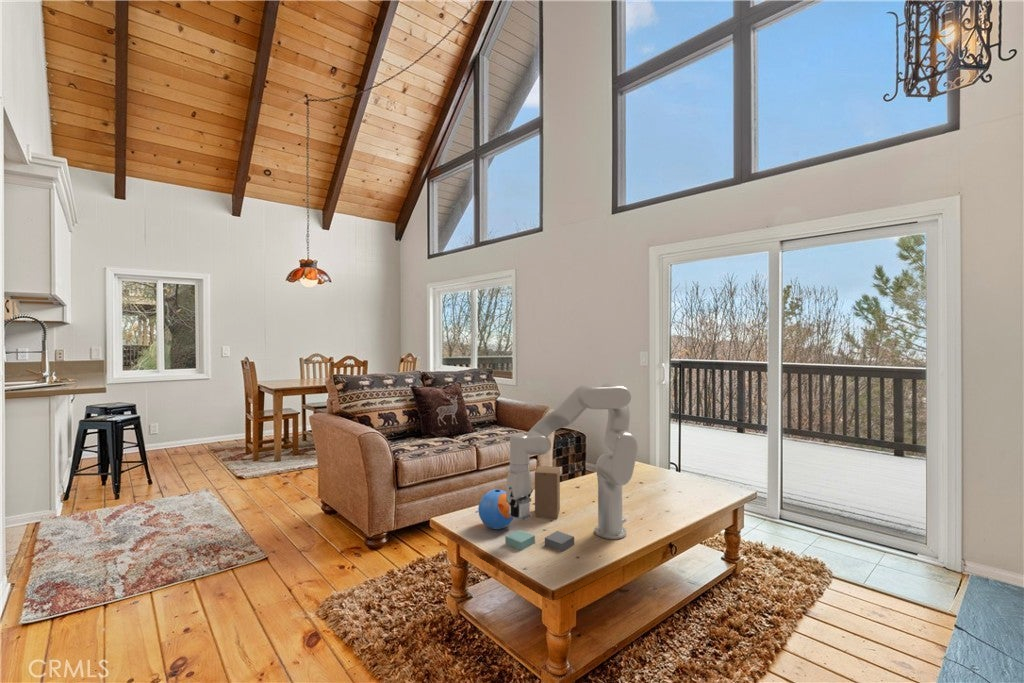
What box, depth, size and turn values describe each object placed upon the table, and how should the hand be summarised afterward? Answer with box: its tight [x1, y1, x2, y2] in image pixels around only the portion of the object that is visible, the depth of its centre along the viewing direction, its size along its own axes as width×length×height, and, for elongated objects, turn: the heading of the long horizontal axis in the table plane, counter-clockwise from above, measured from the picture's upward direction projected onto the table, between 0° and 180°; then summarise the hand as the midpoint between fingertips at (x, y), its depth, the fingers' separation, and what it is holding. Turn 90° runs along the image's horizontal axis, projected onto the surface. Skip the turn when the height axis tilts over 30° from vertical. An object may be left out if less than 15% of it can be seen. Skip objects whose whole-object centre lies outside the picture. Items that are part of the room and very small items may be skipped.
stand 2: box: [544, 530, 575, 553], centre depth 178 cm, size 8×8×3 cm
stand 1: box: [504, 529, 536, 551], centre depth 180 cm, size 8×8×3 cm
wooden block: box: [534, 465, 561, 520], centre depth 208 cm, size 10×10×20 cm
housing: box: [508, 496, 532, 521], centre depth 179 cm, size 5×8×7 cm, turn 48°
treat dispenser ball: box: [478, 489, 515, 530], centre depth 195 cm, size 16×15×15 cm
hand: (519, 513), depth 179 cm, fingers closed on housing, 5 cm apart
